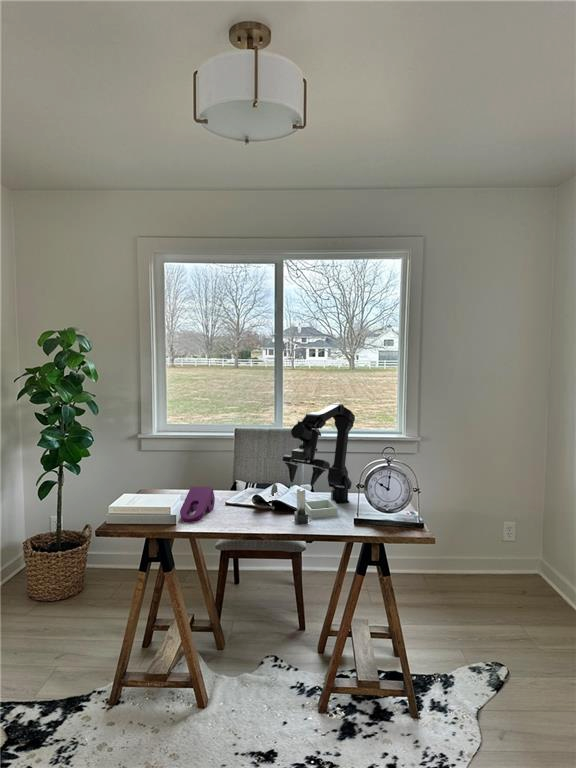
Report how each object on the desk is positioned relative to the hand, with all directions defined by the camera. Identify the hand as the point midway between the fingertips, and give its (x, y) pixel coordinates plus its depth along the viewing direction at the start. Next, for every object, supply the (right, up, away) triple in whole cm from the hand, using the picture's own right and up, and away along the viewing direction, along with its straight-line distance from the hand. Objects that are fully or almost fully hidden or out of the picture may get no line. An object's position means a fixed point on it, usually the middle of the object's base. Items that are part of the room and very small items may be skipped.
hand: (301, 484), depth 189 cm
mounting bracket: (-42, -15, +11) cm, 46 cm away
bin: (+8, -14, +9) cm, 18 cm away
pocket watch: (-13, -13, +27) cm, 33 cm away
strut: (0, -14, -2) cm, 14 cm away
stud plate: (0, -15, -2) cm, 15 cm away
